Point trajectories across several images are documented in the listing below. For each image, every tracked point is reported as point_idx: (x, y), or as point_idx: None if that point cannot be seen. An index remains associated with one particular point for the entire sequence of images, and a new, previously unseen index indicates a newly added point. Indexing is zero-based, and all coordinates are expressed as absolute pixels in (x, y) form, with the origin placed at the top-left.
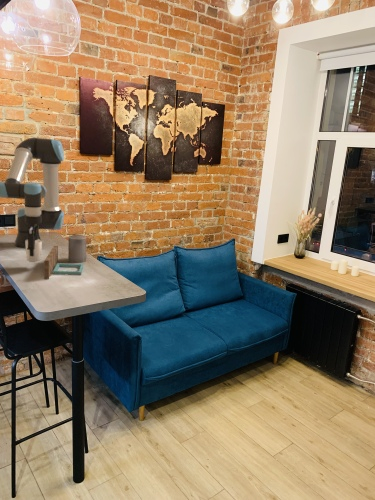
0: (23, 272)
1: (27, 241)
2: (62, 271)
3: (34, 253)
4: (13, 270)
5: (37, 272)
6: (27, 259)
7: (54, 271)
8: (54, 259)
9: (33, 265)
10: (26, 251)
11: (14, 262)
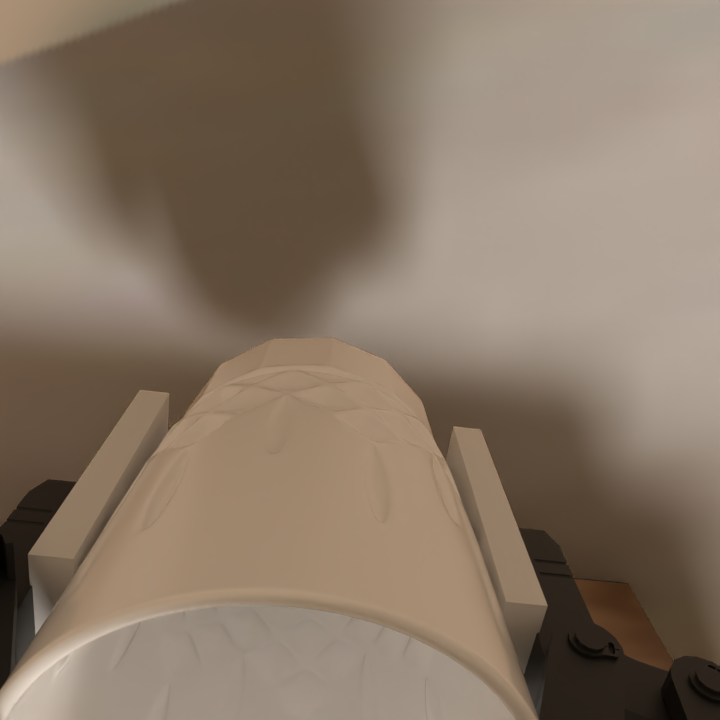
0: (142, 245)
1: (414, 597)
2: None
3: None
4: (237, 77)
5: None
6: (237, 361)
7: None
8: None
9: (488, 354)
10: (215, 426)
11: (702, 40)
